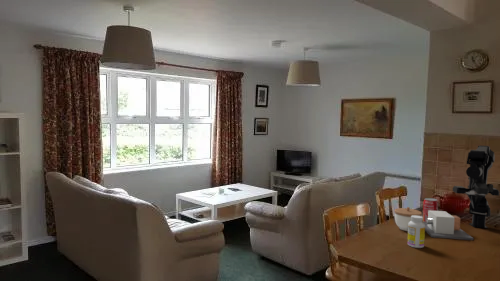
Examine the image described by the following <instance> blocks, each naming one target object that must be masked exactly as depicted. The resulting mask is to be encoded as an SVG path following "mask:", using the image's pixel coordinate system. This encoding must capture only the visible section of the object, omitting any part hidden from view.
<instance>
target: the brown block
mask: <svg viewBox="0 0 500 281" xmlns="http://www.w3.org/2000/svg"><path fill="white" fill-rule="evenodd" d="M450 215H451V214H450ZM451 216H453V217H454V218H455V219H454V230H459V231H460V229H461V217H459V216H458V215H451ZM426 222H427V224H433V218H427V220H426Z"/></svg>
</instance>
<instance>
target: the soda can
mask: <svg viewBox="0 0 500 281" xmlns="http://www.w3.org/2000/svg"><path fill="white" fill-rule="evenodd" d="M428 210H431V211H439V202H438V199H436V198H431V197H425V198H424V200H423V203H422V217H423V221H422V223H424V224H427V222H426V220H427V218H428Z"/></svg>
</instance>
